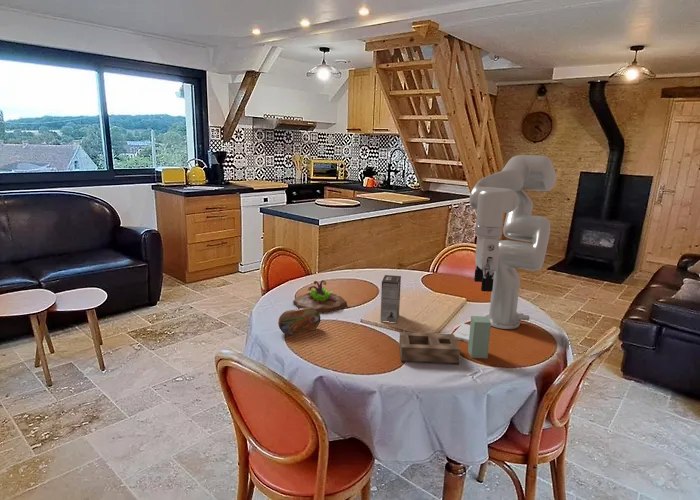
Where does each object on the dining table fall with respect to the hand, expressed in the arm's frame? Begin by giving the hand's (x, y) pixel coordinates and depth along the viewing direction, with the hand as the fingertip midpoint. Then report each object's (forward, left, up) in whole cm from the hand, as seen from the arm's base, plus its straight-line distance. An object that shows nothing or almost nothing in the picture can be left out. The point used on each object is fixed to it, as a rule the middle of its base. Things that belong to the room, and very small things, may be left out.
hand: (482, 286), depth 136 cm
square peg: (0, 0, -23) cm, 23 cm away
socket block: (+16, +2, -23) cm, 28 cm away
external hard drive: (0, -15, -23) cm, 28 cm away
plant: (+55, -39, -23) cm, 71 cm away
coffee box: (+27, -27, -23) cm, 44 cm away
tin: (+59, -12, -23) cm, 64 cm away
